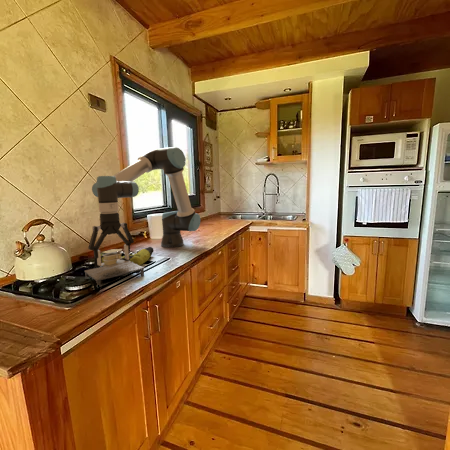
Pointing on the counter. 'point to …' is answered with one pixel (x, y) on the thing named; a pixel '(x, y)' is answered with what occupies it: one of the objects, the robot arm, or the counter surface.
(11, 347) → the counter surface
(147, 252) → the cordless drill
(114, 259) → the stacked layers on plate
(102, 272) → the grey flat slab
